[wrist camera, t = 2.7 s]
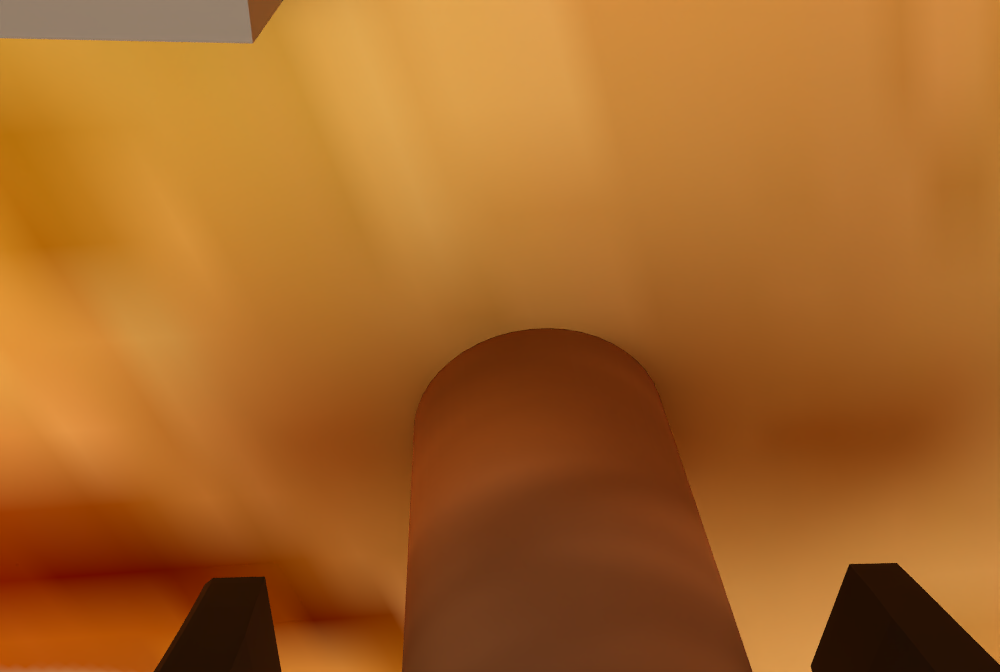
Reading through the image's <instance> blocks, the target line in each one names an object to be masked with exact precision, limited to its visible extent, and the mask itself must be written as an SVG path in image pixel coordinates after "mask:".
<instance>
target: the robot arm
mask: <svg viewBox="0 0 1000 672" xmlns="http://www.w3.org/2000/svg"><path fill="white" fill-rule="evenodd" d="M811 669H812V672H1000V665H999V664H998V663H997V662H996V661H995V660H994V659H993V658H992V657H991V656H990V655H989V654H988V653H987V652H986V651H985V650H984V649H983V648H982V647H981V646H980V645H979V644H978V643H977V642H976V641H975V640H974V639H973V638H972V637H971V636H970V635H969V634H968V633H967V632H966V631H965V630H964V629H963V628H962V627H961V626H960V625H959V624H958V623H957V622H956V621H955V620H954V619H953V618H952V617H951V616H950V615H949V614H948V613H947V612H946V611H945V610H944V609H943V608H942V607H941V606H940V605H939V604H938V603H937V602H936V601H935V600H934V599H933V598H932V597H931V596H930V595H929V594H928V593H927V592H926V591H925V590H924V589H923V588H922V587H921V586H920V585H919V584H918V583H917V582H916V581H915V580H914V579H913V578H912V577H911V576H910V575H908V574H907V573H906V572H905V571H904V570H903V569H902V568H901V567H900V566H899V565H898V564H897V563H881V564H849V567H848V569H847V572H846V575H845V577H844V580H843V583H842V585H841V588H840V590H839V593H838V596H837V598H836V601H835V604H834V606H833V609H832V611H831V614H830V617H829V619H828V622H827V625H826V627H825V630H824V633H823V635H822V638H821V640H820V643H819V646H818V648H817V651H816V654H815V656H814V659H813V661H812V664H811ZM154 672H281V667H280V661H279V655H278V649H277V644H276V638H275V632H274V626H273V621H272V615H271V609H270V603H269V598H268V592H267V586H266V580H265V577H236V578H213V579H211V580H210V581H209V582H208V583H206V584H205V585H204V587H203V589H202V591H201V593H200V595H199V596H198V598H197V600H196V602H195V604H194V605H193V607H192V609H191V611H190V612H189V614H188V616H187V618H186V619H185V621H184V623H183V625H182V626H181V628H180V630H179V631H178V633H177V635H176V636H175V638H174V640H173V641H172V643H171V645H170V646H169V648H168V650H167V651H166V653H165V655H164V656H163V658H162V659H161V661H160V663H159V664H158V666H157V667H156V669H155V671H154Z"/></svg>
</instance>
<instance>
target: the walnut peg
mask: <svg viewBox="0 0 1000 672" xmlns="http://www.w3.org/2000/svg"><path fill="white" fill-rule="evenodd" d="M402 672H752V669H751V666H750V663H749V660H748V657H747V654H746V651H745V649H744V646H743V643H742V640H741V637H740V634H739V631H738V628H737V625H736V622H735V619H734V616H733V613H732V610H731V607H730V604H729V601H728V598H727V595H726V592H725V589H724V586H723V583H722V580H721V577H720V575H719V572H718V569H717V566H716V563H715V560H714V557H713V554H712V551H711V548H710V545H709V542H708V539H707V536H706V533H705V530H704V527H703V524H702V521H701V518H700V515H699V512H698V509H697V506H696V504H695V501H694V498H693V495H692V492H691V489H690V486H689V483H688V480H687V477H686V474H685V471H684V468H683V465H682V462H681V459H680V456H679V453H678V450H677V447H676V444H675V441H674V438H673V435H672V433H671V430H670V427H669V424H668V421H667V418H666V415H665V412H664V409H663V406H662V403H661V400H660V397H659V394H658V392H657V390H656V387H655V385H654V383H653V381H652V380H651V378H650V377H649V375H648V373H647V372H646V371H645V370H644V368H643V367H642V366H641V365H640V364H639V363H638V362H637V361H636V360H635V359H634V358H633V357H631V356H630V355H629V354H628V353H626V352H625V351H624V350H622V349H620V348H619V347H617V346H615V345H614V344H612V343H610V342H607V341H605V340H603V339H600V338H598V337H595V336H592V335H588V334H585V333H582V332H576V331H570V330H564V329H529V330H523V331H517V332H511V333H508V334H504V335H501V336H497V337H494V338H491V339H489V340H486V341H484V342H482V343H479V344H477V345H475V346H474V347H472V348H470V349H468V350H466V351H464V352H463V353H461V354H460V355H459V356H457V357H456V358H454V359H453V360H452V361H450V362H449V363H448V364H447V365H446V366H445V367H444V368H443V369H442V370H441V371H440V372H439V373H438V374H437V375H436V377H435V378H434V379H433V380H432V381H431V383H430V384H429V386H428V387H427V389H426V391H425V392H424V394H423V396H422V398H421V401H420V403H419V406H418V408H417V413H416V417H415V423H414V442H413V462H412V483H411V503H410V524H409V544H408V565H407V585H406V606H405V626H404V647H403V667H402Z"/></svg>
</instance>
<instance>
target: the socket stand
mask: <svg viewBox="0 0 1000 672" xmlns="http://www.w3.org/2000/svg"><path fill="white" fill-rule="evenodd" d="M282 1H283V0H0V38H23V39H70V40H118V41H165V42H213V43H254V41H255V40H256V38H257V37H258V35H259V34H260V32H261V31H262V30H263V28H264V27H265V25H266V24H267V22H268V21H269V20H270V18H271V17H272V15H273V14H274V12H275V11H276V10H277V8H278V7H279V5H280V4H281V2H282Z"/></svg>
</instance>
